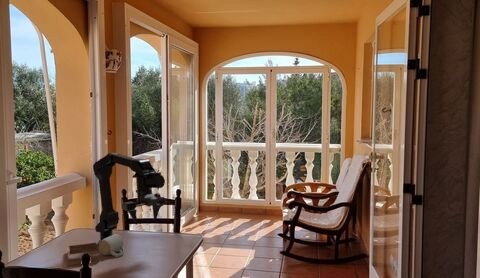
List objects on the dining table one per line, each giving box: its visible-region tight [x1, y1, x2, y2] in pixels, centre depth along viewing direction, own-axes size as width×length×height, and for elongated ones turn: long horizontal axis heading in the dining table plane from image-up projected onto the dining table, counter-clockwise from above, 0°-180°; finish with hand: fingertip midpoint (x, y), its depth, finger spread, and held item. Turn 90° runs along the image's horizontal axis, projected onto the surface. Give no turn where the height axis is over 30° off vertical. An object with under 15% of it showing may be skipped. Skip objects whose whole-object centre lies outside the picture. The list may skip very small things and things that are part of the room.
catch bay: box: [67, 242, 100, 267], centre depth 166 cm, size 17×12×3 cm
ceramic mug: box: [98, 233, 125, 258], centre depth 170 cm, size 11×8×8 cm
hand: (145, 222), depth 171 cm, fingers open, 9 cm apart
